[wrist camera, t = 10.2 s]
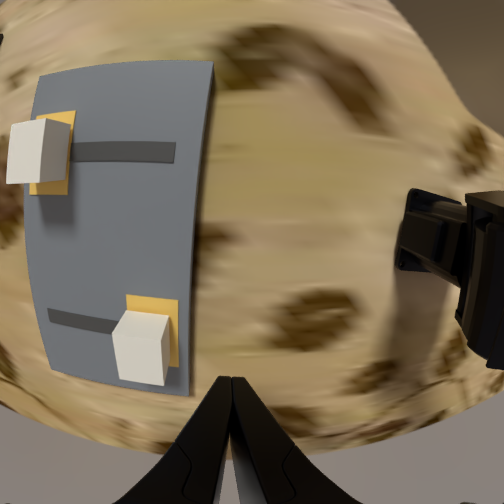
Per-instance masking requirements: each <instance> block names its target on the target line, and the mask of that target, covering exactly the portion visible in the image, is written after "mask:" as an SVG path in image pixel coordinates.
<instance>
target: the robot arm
mask: <svg viewBox="0 0 504 504" xmlns="http://www.w3.org/2000/svg"><path fill="white" fill-rule="evenodd" d="M414 193H415V197H414ZM465 202H466V203H467V206H463V205H462V204H461V202H459V201H456V200H452V199H449V198H446V197H443V196H440V195H437V194H433V193H430V192H427V191H423V190H420V189H416V188H412V189H410V191H409V193H408V200H407V206H406V212H405V218H404V223H403V229H402V234H401V239H400V244H399V249H398V253H397V257H396V262H395V266H396V268H398V269H399V270H404V271H418V272H432V273H434V274H436V275H438V276H440V277H441V278H443V279H445V280H447V281H448V282H450V283H452V284H454V285H455V286H457V287H459V288H460V296H459V302H458V307H457V309H456V312H455V319H456V320H457V322H458V323H459V325H460V326H461V328H462V331H463V333H464V335H465V337H466V339H467V340H468V341H467V346H468V347H469V348H470V349H471V350H472V351H473V352H474V353H476V354H477V355H479V356H480V357H482V358H484V359H486V360H487V363H486V367H487V368H491V369H500V370H504V191H488V192H477V193H467V194H465ZM401 262H402V265H401V266H400V264H401ZM229 434H230V445H231V451H232V458H233V464H234V470H235V476H236V482H237V488H238V493H239V499H240V504H363V503H361V502H359V501H357V500H355V499H354V498H352V497H351V496H350V495H348V494H347V493H346V492H344V491H343V490H342V489H341V488H339V487H338V486H337V485H336V484H335V483H334V482H332V481H331V480H330V479H329V478H328V477H326V476H325V475H324V474H323V473H322V472H321V471H320V470H319V469H318V468H316V467H315V466H314V465H313V464H312V463H311V462H310V460H309V459H308V458H307V457H306V456H305V455H304V454H303V453H302V452H301V450H300V449H299V448H298V447H297V446H296V445H295V443H294V442H293V441H292V439H291V438H290V437H289V436H288V434H287V433H286V432H285V431H284V429H283V428H282V427H281V426H280V424H279V423H278V422H277V420H276V419H275V418H274V417H273V415H272V414H271V413H270V411H269V410H268V409H267V407H266V406H265V405H264V403H263V402H262V401H261V399H260V398H259V397H258V395H257V394H256V393H255V391H254V390H253V388H252V387H251V386H250V384H249V383H248V382H247V380H246V379H245V378H244V377H232V378H231V377H230V376H218V377H217V379H216V380H215V382H214V383H213V385H212V386H211V388H210V389H209V391H208V392H207V394H206V395H205V397H204V398H203V400H202V401H201V403H200V404H199V406H198V407H197V409H196V410H195V412H194V413H193V415H192V416H191V418H190V419H189V421H188V422H187V423H186V425H185V426H184V428H183V429H182V431H181V432H180V434H179V435H178V436H177V438H176V439H175V442H173V443H172V445H171V446H170V448H169V449H168V450H167V452H166V453H165V454H164V455H163V457H162V458H161V459H160V460H159V462H158V463H157V464H156V465H155V466H154V467H153V468H152V469H151V470H150V471H149V472H148V473H147V474H146V475H145V476H144V477H143V478H142V479H141V480H140V481H139V482H138V483H137V484H136V485H135V486H133V487H132V488H131V489H130V490H129V491H128V492H127V493H126V494H125V495H124V496H122V497H121V498H120V499H119V500H117V501H116V502H115V503H112V504H219V500H220V493H221V487H222V480H223V474H224V468H225V461H226V455H227V448H228V442H229ZM6 504H9V503H6ZM460 504H475V503H469V502H462V503H460ZM503 504H504V503H503Z"/></svg>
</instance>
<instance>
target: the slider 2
mask: <svg viewBox="0 0 504 504" xmlns="http://www.w3.org/2000/svg"><path fill="white" fill-rule="evenodd" d="M112 338H113V344H114V351H115V357H116V362H117V368H118V373H119V378H120V379H123V380H128V381H134V382H140V383H146V384H153V385H161V386H164V384H165V379H166V375H167V370H168V366H169V362H170V336H169V315H161V314H152V313H144V312H136V311H128V310H126V311H125V313H124V315H123V316H122V318H121V319H120V321H119V323H118V324H117V326H116V327H115V329H114V331H113V332H112Z"/></svg>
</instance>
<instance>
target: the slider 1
mask: <svg viewBox="0 0 504 504" xmlns="http://www.w3.org/2000/svg"><path fill="white" fill-rule="evenodd" d="M70 127H71V124H67V123H64V122H60V121H56V120H52V119H48V118H43V119H37V120H31V121H26V122H21V123H16V124H12V126H11V133H10V141H9V150H8V162H7V179H6V184H14V183H40V182H49V181H58V180H65V177H66V163H67V152H68V143H69V135H70Z"/></svg>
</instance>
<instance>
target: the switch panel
mask: <svg viewBox="0 0 504 504" xmlns="http://www.w3.org/2000/svg"><path fill="white" fill-rule="evenodd" d="M213 74H214V62H211V61H189V60H157V61H135V62H122V63H112V64H104V65H96V66H89V67H83V68H77V69H72V70H66V71H61V72H57V73H52V74H48V75H44V76H40V77H39V81H38V85H37V89H36V94H35V98H34V103H33V108H32V114H31V120H37V119H43V118H48V119H52V120H56V121H60V122H64V123H67V124H71V127H70V135H69V143H68V152H67V163H66V177H65V180H58V181H49V182H40V183H24V227H25V243H26V254H27V263H28V271H29V278H30V285H31V291H32V296H33V302H34V307H35V311H36V316H37V320H38V325H39V329H40V333H41V337H42V340H43V344H44V347H45V351H46V354H47V357H48V361H49V364H50V367H51V369H52V370H55V371H58V372H62V373H65V374H69V375H72V376H76V377H80V378H84V379H88V380H92V381H96V382H101V383H105V384H110V385H115V386H120V387H125V388H131V389H137V390H143V391H149V392H156V393H164V394H172V395H181V396H189V389H190V314H191V286H192V265H193V249H194V234H195V221H196V208H197V197H198V187H199V177H200V167H201V159H202V150H203V142H204V134H205V126H206V119H207V112H208V105H209V98H210V92H211V86H212V80H213ZM31 120H30V121H31ZM126 310H128V311H136V312H144V313H152V314H161V315H169V336H170V362H169V366H168V370H167V375H166V379H165V384H164V386H161V385H153V384H146V383H140V382H134V381H128V380H123V379H120V378H119V373H118V368H117V362H116V357H115V351H114V344H113V338H112V332H113V331H114V329H115V327H116V326H117V324H118V323H119V321H120V319H121V318H122V316H123V315H124V313H125V311H126Z"/></svg>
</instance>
